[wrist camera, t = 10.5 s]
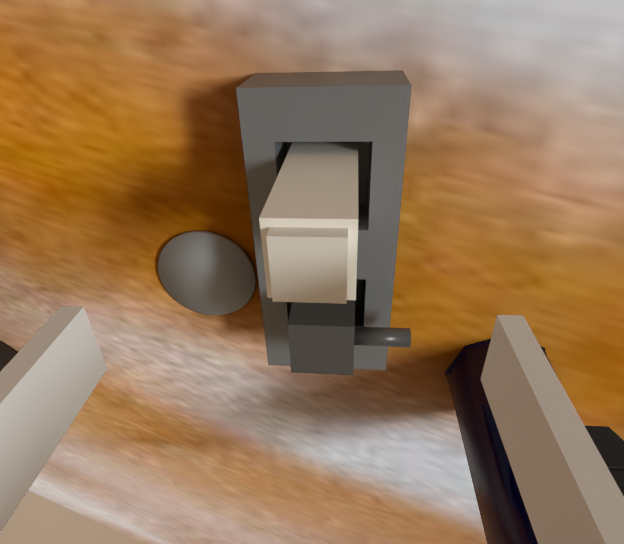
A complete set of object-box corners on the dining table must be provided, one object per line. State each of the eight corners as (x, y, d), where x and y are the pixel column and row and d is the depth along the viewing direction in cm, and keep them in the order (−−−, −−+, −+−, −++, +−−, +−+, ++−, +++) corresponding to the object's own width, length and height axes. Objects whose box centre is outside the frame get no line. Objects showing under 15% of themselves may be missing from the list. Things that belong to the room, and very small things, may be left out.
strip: (278, 323, 37) (258, 406, 30) (255, 73, 26) (214, 104, 19) (394, 327, 36) (404, 414, 29) (419, 70, 25) (445, 101, 18)
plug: (295, 136, 27) (255, 227, 17) (358, 135, 27) (358, 228, 16) (298, 194, 29) (264, 308, 19) (356, 195, 29) (355, 311, 18)
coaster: (170, 311, 38) (169, 313, 37) (149, 229, 33) (147, 232, 33) (260, 314, 37) (259, 316, 36) (250, 231, 32) (249, 233, 32)
